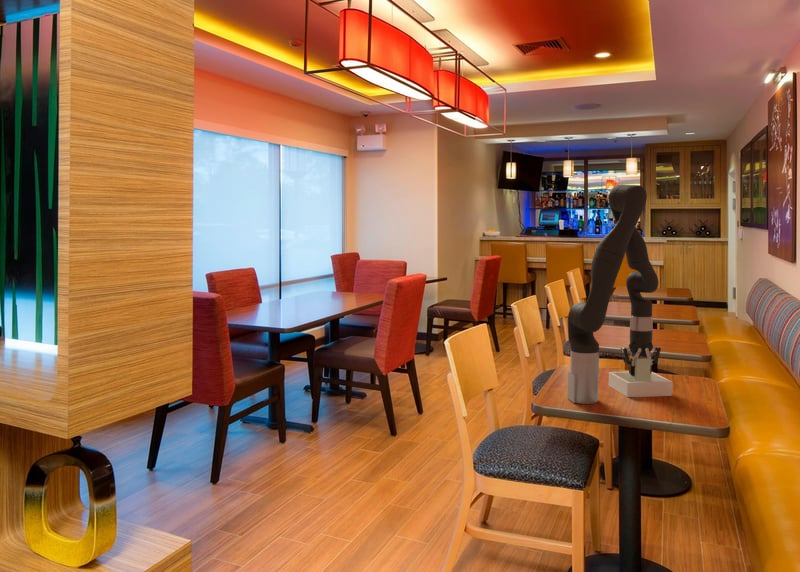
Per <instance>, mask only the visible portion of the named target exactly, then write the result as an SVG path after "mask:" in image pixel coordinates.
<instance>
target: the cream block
mask: <svg viewBox="0 0 800 572" xmlns="http://www.w3.org/2000/svg"><path fill="white" fill-rule="evenodd" d="M651 359H652V357H651V358H647V357H638V358H636V360H635V365H634V366H635V376H631V375H630V378H632V379H633V380H635V381H650V364H651Z"/></svg>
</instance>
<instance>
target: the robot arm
mask: <svg viewBox="0 0 800 572" xmlns="http://www.w3.org/2000/svg"><path fill="white" fill-rule="evenodd" d="M647 194H648V193H647V190H646V188H645V187H644V186H642V185H638V184H637V185H636V184H616V185H615V186H613V187H612V188H611V190H610V191H609V193H608V204H609V207H610V211H611V213H612V216H613V218H614V221H615V223H616V224H615V225H614V227H613V228H612V229H611V230H610V231H609V232H608V233H607V234H606V235H605V236H604V237H603V238H602V239H601V240H600V242H599V243H598V245H597V247H596V250H595V252H594V254H593V257H592V261H591V263H590V264H591V266H590V274H591V276H590V277H591V287H590V292H589V294H588V298H587V299H586V302H577V303H575V304H573V305H572V306H571V308H569V311H568V316H567V335H568V336H567V337H568V342H569V345H570V358H569V359H570V360H569V361H570V362H569V363H570V366H569V367H570V370H569V371H568V373H567V375H568V376H567V399H568V401H570V402H572V404H581V405H582V404H583V405H593V404H596V403H598V402H599V378H600V377H599V374H600V367H599V366H600V344H599V341H597V340H596V337H595V335H594V333H596V332H597V331H599V330H601V328H602V326H603V325H604V322H605V320H606V315H607V311H608V308H609V302H610V298H611V295H612V292H613V289H614V286H615V283H616V280H617V277H618V274H619V271H620V270H621V267H622V263H623V260H624V259H625V257H626V261H627V262H626V263H627V265H628V267H629V268H630V269H631V270H634V272H633V271H632V272H631V273H629V274H628V275H627V278H626V280H625V281H626V282H625V284H626V289H627V293H628V297H629V301H630V320H629V345H628V346H626V347H624V346H621V347H620V351H621V355H622V356H621V357H622V360H623V363H624V364H626V365H628V372H629V374H630V375H631V376H635V366H634V365H635V360H636V358H638V357H647V358H651V364H650V374H651V373H652V372H653V371H652V369H653V367H652V366H653V365H655V364H657V363H658V362H659V357H660V354H661V350H662V348H661V347H660V346H657V345H656V346H654V345H653V331H654V330H653V329H654V327H653V324H654V323H653V302H652V300H651V299H648V298H645V297H643V296H642V294H641V293H646V294H651V293H652V294H653V293H655V292H656V291H657V289H658V288H659V277H658V274H657V272H656V271H655V270H654V267H653V266H652V265H653V264H652V263H651V261H650V258H649V252H648V248H647V244H646V242H645V240H644V237H643V236H642V234H641V233H640V231H639V230H638V228H637V224H638V222H639V220H640V218H641V216H642V214H643V211H644V209H645V207H646V203H647V199H648V196H647ZM636 271H637V272H636ZM629 351H630V352H631V354H630V356H629ZM651 352H652V356H651Z"/></svg>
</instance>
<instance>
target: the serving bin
mask: <svg viewBox="0 0 800 572" xmlns="http://www.w3.org/2000/svg"><path fill="white" fill-rule="evenodd" d="M608 387H610V388H611V389H613V390H615V391H616V392H618V393H620V394H621V395H623V396H625V397H626V398H646V397H670V396H671V397H672V396H673V381H672V380H670V379H668V378H665V377H664V376H661V375H659V374H658V373H655V372H654V371H652V373H651V374H650V381H635V380H633V379H632V378H630V374H629V371H609V372H608Z"/></svg>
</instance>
